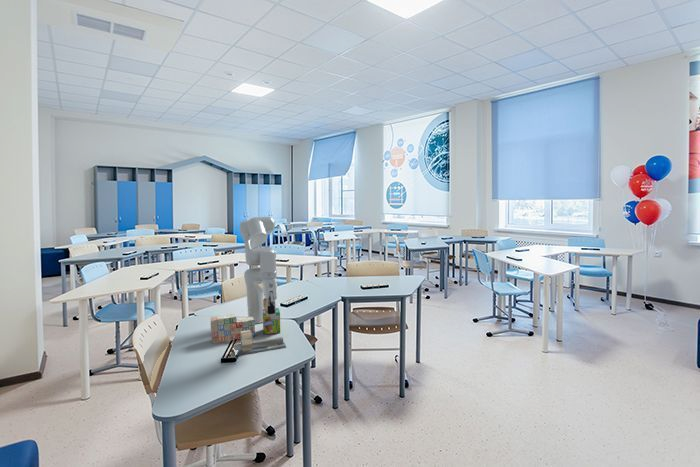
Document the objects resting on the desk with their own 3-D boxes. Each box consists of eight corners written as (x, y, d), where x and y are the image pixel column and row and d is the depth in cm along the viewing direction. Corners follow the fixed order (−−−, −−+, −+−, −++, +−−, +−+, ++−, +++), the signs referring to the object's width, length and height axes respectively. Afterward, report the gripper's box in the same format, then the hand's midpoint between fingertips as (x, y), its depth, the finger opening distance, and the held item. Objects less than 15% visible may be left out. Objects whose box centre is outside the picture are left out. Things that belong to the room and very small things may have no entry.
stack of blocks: (253, 333, 204) (252, 310, 202) (255, 336, 198) (254, 314, 197) (211, 339, 195) (210, 316, 194) (212, 343, 190) (210, 320, 188)
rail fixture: (232, 349, 182) (231, 331, 181) (281, 340, 191) (281, 324, 190) (234, 356, 174) (233, 337, 173) (285, 347, 183) (285, 329, 182)
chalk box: (263, 335, 200) (262, 307, 198) (263, 329, 209) (261, 303, 207) (281, 333, 202) (279, 306, 201) (279, 327, 211) (278, 301, 210)
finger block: (263, 313, 184) (263, 297, 184) (273, 312, 186) (273, 296, 186) (265, 316, 179) (264, 300, 179) (275, 315, 181) (275, 299, 181)
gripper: (279, 277, 175) (281, 315, 176) (272, 271, 190) (274, 306, 192) (263, 279, 172) (265, 318, 174) (257, 273, 188) (259, 308, 189)
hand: (270, 311), depth 183 cm, fingers closed on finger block, 5 cm apart
